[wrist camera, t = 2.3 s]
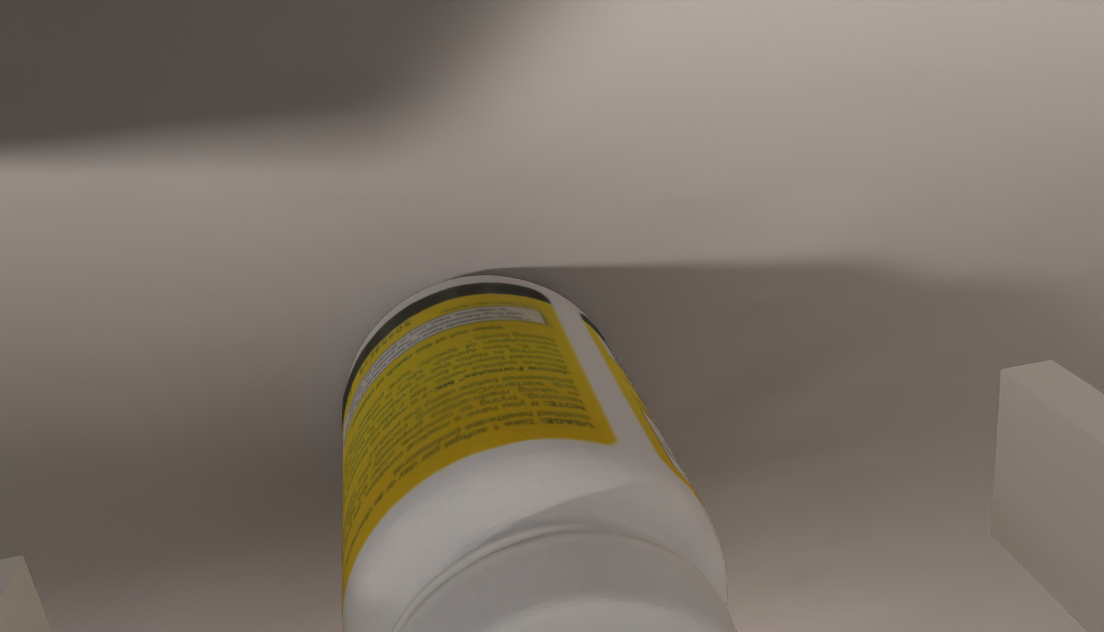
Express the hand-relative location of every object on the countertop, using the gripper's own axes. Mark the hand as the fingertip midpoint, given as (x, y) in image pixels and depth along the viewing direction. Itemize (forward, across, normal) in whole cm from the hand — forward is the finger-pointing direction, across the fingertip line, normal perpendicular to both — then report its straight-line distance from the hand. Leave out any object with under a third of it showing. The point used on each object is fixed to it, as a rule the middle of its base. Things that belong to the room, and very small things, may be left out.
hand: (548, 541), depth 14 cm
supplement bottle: (+5, 0, 0) cm, 5 cm away
